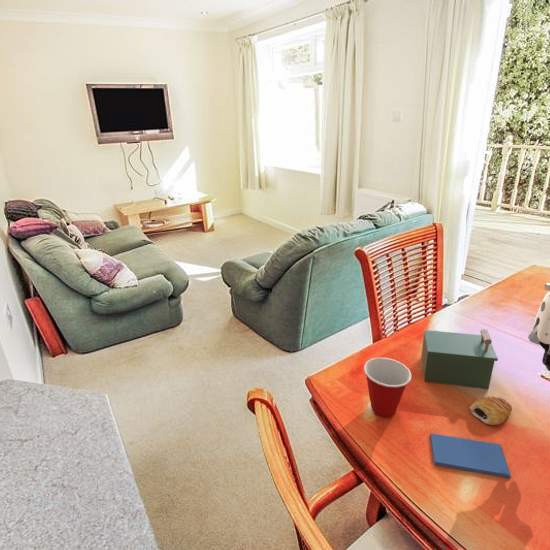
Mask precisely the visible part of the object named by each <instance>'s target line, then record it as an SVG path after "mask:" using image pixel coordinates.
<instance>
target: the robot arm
mask: <svg viewBox="0 0 550 550" xmlns="http://www.w3.org/2000/svg"><path fill="white" fill-rule="evenodd" d="M544 290H545V291H547V293H546V294H545V296H544V297H543V300H542V301H541V304H540V305H539V308H538V310H537V312H536V316H535V318H534V319H535V320H534V322H533V327H532V331H531V332H530V333H529V334H528V337H527V338H528V340H529V342H530V343H533V344H536V345H539V346H540V347H542V349H543V350H544V352H543V355H542V359H541V363H542V364H543V365H544V366H545V368H546V369H547V371H548V372H550V283H544Z"/></svg>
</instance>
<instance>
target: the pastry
mask: <svg viewBox="0 0 550 550" xmlns="http://www.w3.org/2000/svg"><path fill="white" fill-rule="evenodd" d="M468 409H469V411H470V413H471V414H472V415H473V416H474V417H475V418H477V419H479V420H481V421H482V422H483V423H484V424H486V425H490V426H499V425H500V424H502V423H503V422H505V421H506V420H507V418H509V416H510V415H511V413H512V411H513V407H512V405H511V404H510V402H508V401H507V400H506V399H505V398H501V397H496V396H492V397H491V396H487V397H482V398H481V399H479V398H477V399H476V400H474V402H473V403H472V404H471V405H469V408H468Z"/></svg>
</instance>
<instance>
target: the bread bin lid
mask: <svg viewBox="0 0 550 550" xmlns="http://www.w3.org/2000/svg"><path fill="white" fill-rule="evenodd" d="M424 334H425V340H426V347H427V353H428V354H433V355H443V356H453V357H462V358H472V359H481V360H491V361H494V362H498V355H497V353H496V351H495V349H494V347H493V344H492V343H493V342H492V341H493V340H492V338H491V337H490V334H489V332H488V329H486V328H482V329H480V334H476V333H475V334H473V333H464V332H452V331H451V332H450V331H441V330H430V329H429V330H428V329H424V330H423V335H424Z"/></svg>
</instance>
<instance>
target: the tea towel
mask: <svg viewBox="0 0 550 550" xmlns="http://www.w3.org/2000/svg"><path fill="white" fill-rule="evenodd" d="M430 441H431V442H430V443H431V450H432V458H433V459H432V460H433V465H434V466H439V467H446V468H450V469H457V470H462V471H467V472H472V473H473V472H474V473H480V474H484V475H489V476H496V477H501V478H507V479H511V478H512V475H511V472H510V469H509V466H508V463H507V460H506V457H505V454H504V451H503V448H502V445H501V443H495V442H488V441H482V440H481V441H480V440H476V439H470V438H463V437H456V436H452V435H451V436H450V435H443V434H437V433H430Z"/></svg>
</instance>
